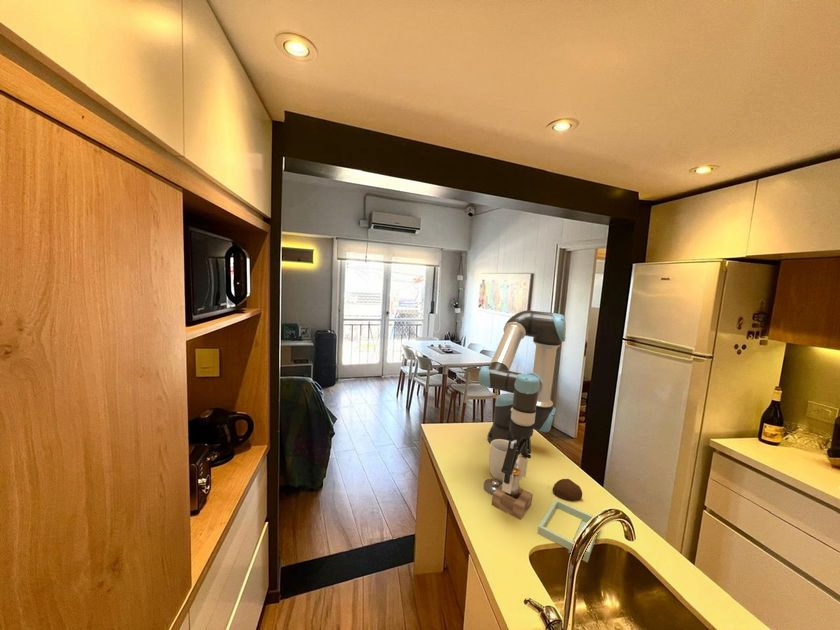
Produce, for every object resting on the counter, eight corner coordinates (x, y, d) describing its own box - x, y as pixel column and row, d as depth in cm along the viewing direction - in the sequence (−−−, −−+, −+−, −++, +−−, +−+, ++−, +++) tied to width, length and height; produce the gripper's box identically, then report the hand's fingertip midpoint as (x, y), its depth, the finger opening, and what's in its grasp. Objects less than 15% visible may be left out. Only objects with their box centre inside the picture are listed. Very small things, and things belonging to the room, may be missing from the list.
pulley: (489, 482, 126) (490, 473, 126) (509, 491, 122) (510, 482, 121) (479, 491, 120) (480, 481, 120) (500, 501, 115) (501, 492, 115)
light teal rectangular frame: (554, 507, 115) (555, 498, 115) (599, 528, 107) (600, 519, 106) (536, 535, 101) (538, 526, 100) (587, 562, 92) (589, 552, 92)
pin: (509, 500, 115) (513, 466, 114) (517, 504, 113) (521, 470, 112) (505, 504, 112) (509, 470, 111) (514, 508, 111) (518, 474, 110)
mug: (529, 487, 126) (534, 454, 124) (509, 495, 120) (514, 460, 118) (500, 467, 138) (504, 436, 137) (480, 473, 132) (484, 441, 131)
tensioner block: (503, 494, 120) (504, 480, 119) (530, 507, 114) (532, 493, 113) (491, 507, 112) (492, 493, 111) (520, 522, 106) (522, 507, 105)
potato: (586, 506, 118) (588, 487, 117) (556, 503, 117) (559, 484, 117) (576, 493, 125) (579, 476, 124) (549, 491, 124) (551, 473, 124)
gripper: (524, 409, 122) (517, 464, 124) (495, 428, 102) (487, 494, 104) (545, 415, 118) (537, 473, 120) (519, 437, 98) (510, 505, 100)
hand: (514, 483), depth 112 cm, fingers open, 12 cm apart
